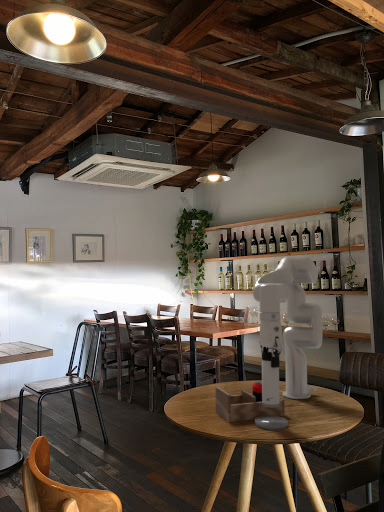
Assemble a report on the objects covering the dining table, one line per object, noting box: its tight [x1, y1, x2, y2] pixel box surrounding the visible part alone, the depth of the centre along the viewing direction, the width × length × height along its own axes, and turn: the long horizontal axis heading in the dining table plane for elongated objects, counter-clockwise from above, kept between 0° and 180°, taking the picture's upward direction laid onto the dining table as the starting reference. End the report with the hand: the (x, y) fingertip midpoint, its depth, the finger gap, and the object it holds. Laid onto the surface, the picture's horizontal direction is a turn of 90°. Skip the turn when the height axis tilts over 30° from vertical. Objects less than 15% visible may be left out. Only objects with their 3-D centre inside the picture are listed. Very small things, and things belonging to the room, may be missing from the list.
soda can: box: [251, 380, 263, 402], centre depth 174 cm, size 8×8×12 cm
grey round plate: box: [254, 415, 289, 431], centre depth 159 cm, size 12×12×2 cm
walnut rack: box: [215, 386, 286, 423], centre depth 172 cm, size 24×13×10 cm, turn 108°
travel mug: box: [261, 351, 280, 408], centre depth 160 cm, size 6×7×20 cm
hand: (270, 365), depth 160 cm, fingers closed on travel mug, 6 cm apart
